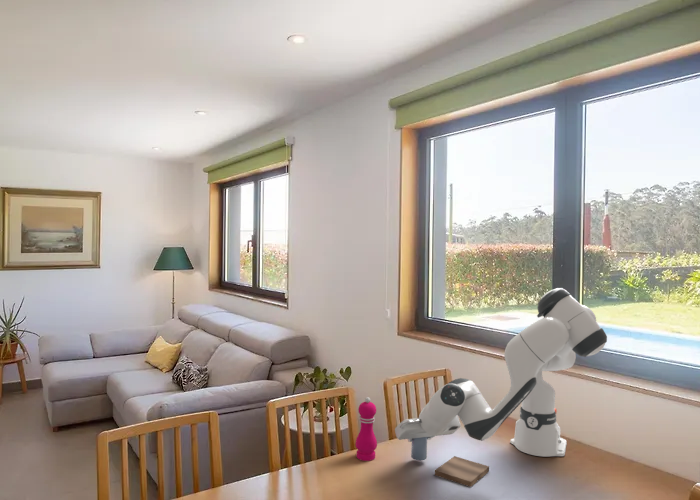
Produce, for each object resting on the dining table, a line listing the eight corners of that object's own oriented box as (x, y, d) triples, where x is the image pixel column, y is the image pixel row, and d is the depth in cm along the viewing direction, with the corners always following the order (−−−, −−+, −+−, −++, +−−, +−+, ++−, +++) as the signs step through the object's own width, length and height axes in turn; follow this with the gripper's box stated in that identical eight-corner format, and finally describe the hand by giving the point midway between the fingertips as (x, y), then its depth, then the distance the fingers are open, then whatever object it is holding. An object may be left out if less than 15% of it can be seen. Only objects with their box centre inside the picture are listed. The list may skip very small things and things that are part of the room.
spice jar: (415, 452, 173) (416, 419, 173) (430, 456, 170) (431, 423, 170) (407, 457, 169) (408, 423, 169) (422, 462, 166) (423, 427, 165)
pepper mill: (374, 462, 168) (376, 401, 168) (353, 460, 169) (355, 399, 169) (378, 454, 175) (380, 395, 175) (357, 451, 176) (359, 393, 176)
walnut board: (454, 460, 171) (454, 456, 171) (489, 471, 164) (489, 466, 164) (434, 475, 160) (434, 470, 160) (470, 487, 153) (471, 481, 153)
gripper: (406, 432, 155) (392, 451, 164) (465, 426, 162) (448, 444, 171) (400, 412, 159) (387, 432, 169) (458, 407, 166) (442, 426, 175)
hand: (418, 438), depth 170 cm, fingers closed on spice jar, 5 cm apart
